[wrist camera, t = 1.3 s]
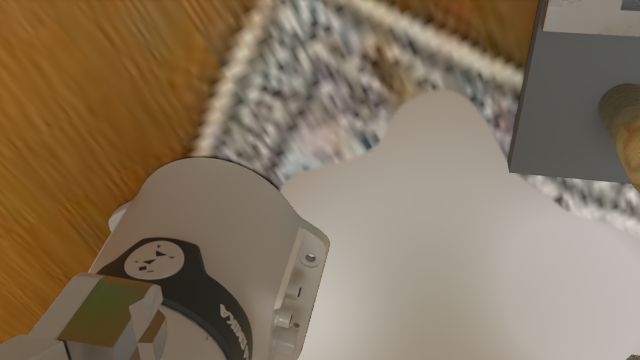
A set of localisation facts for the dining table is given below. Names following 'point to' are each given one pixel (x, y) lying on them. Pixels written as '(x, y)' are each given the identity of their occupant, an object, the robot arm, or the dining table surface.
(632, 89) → the brass pin
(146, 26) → the dining table surface
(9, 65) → the dining table surface
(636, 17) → the frame
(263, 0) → the dining table surface
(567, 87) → the mat
